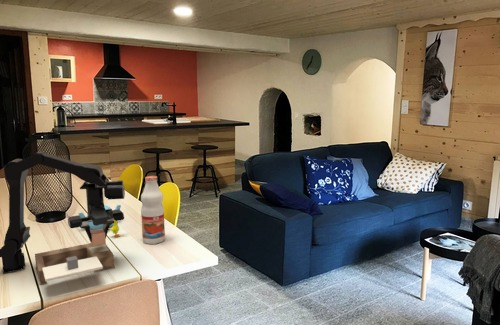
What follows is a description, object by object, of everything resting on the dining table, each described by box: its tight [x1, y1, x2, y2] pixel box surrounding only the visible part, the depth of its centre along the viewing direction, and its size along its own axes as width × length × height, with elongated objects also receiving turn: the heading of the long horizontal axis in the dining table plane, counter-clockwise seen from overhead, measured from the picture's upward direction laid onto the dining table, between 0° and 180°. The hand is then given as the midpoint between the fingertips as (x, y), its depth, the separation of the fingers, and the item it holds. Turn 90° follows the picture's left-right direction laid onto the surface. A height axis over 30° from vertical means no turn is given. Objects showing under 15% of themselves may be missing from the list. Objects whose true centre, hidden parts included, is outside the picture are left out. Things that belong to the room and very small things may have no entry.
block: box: [90, 229, 107, 246], centre depth 145 cm, size 4×4×4 cm
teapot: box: [78, 204, 122, 231], centre depth 184 cm, size 15×15×11 cm
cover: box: [42, 256, 103, 283], centre depth 129 cm, size 17×10×4 cm, turn 123°
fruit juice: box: [140, 175, 166, 245], centre depth 166 cm, size 9×9×28 cm
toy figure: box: [109, 216, 125, 238], centre depth 171 cm, size 7×4×12 cm, turn 118°
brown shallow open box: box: [34, 242, 116, 286], centre depth 142 cm, size 24×16×5 cm, turn 123°
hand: (97, 240), depth 145 cm, fingers closed on block, 4 cm apart
